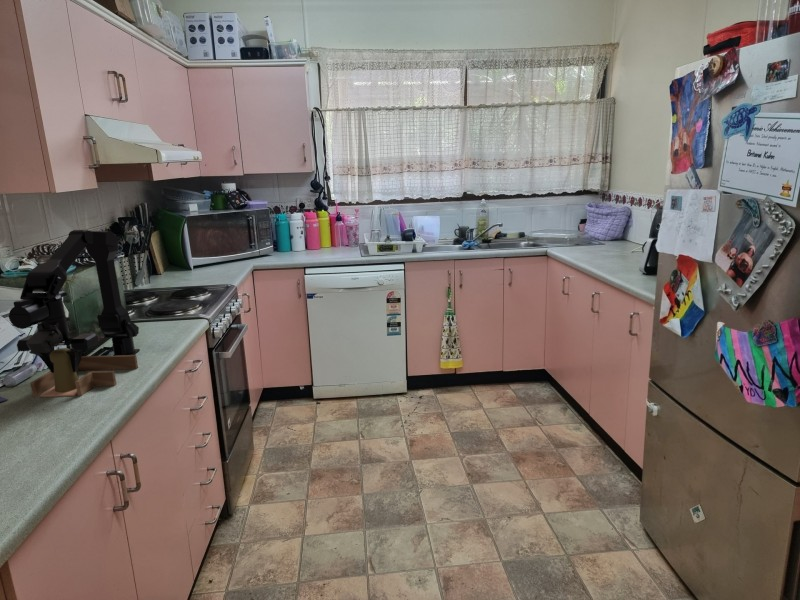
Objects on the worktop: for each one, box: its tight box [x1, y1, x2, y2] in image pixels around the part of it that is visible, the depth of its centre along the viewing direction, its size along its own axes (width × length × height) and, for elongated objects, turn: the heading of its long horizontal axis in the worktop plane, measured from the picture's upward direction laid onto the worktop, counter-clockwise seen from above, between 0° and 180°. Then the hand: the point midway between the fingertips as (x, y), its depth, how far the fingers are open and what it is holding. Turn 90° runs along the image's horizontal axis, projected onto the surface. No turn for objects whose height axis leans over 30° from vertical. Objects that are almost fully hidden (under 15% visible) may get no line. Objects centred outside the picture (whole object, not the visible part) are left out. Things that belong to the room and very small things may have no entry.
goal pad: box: [39, 386, 78, 398], centre depth 143 cm, size 9×9×1 cm
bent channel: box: [29, 354, 139, 398], centre depth 147 cm, size 19×18×4 cm
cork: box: [50, 347, 80, 392], centre depth 141 cm, size 6×6×11 cm
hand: (64, 372), depth 141 cm, fingers open, 6 cm apart
